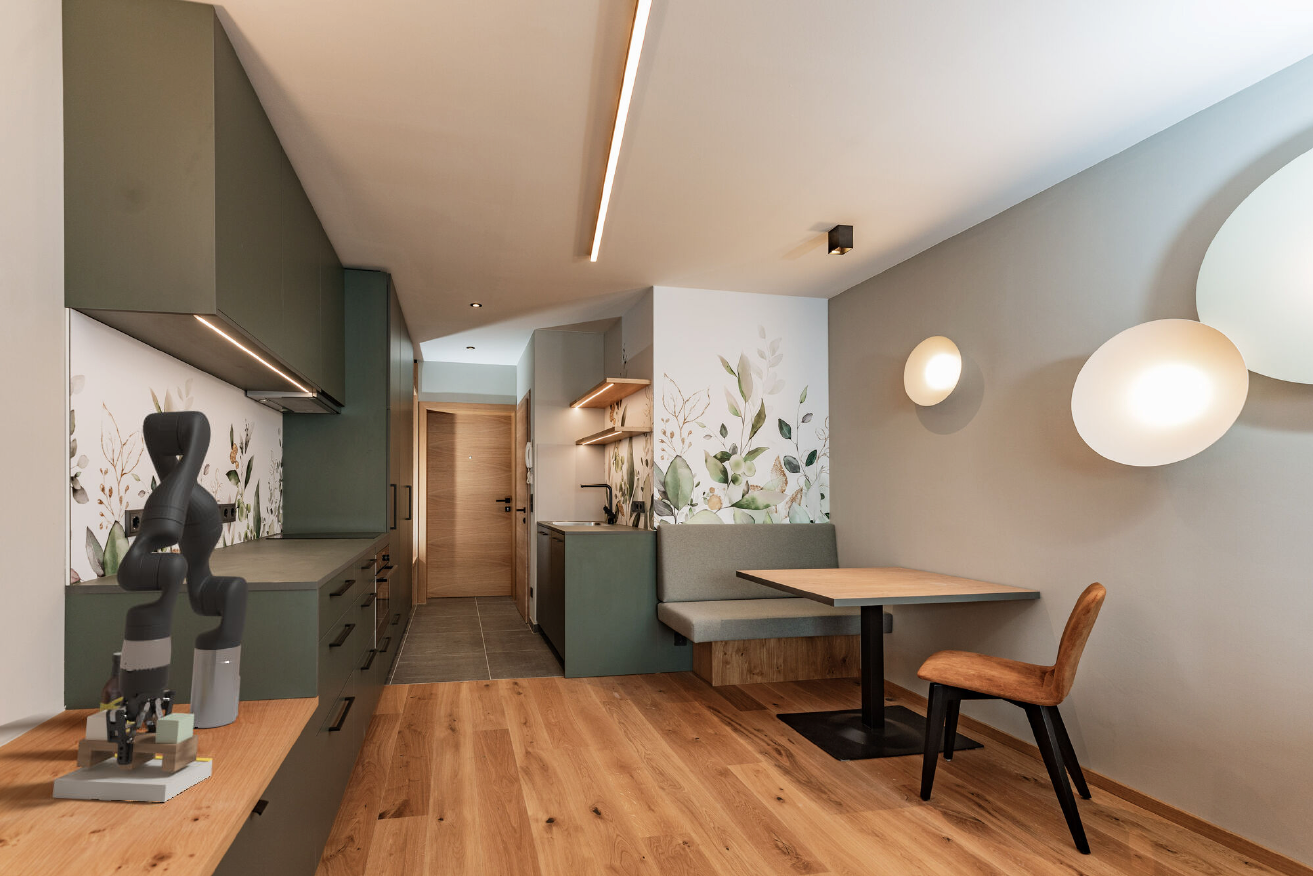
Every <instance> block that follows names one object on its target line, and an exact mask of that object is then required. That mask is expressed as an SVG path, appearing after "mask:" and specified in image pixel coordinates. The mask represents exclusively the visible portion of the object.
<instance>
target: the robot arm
mask: <svg viewBox="0 0 1313 876" xmlns="http://www.w3.org/2000/svg"><path fill="white" fill-rule="evenodd" d="M211 430H212V429H211V424H210V422H209V419H208V417H207V416H206V414H205V413H204V412H202V411H200V410H199V411H198V410H182V411H161V412H160V411H159V412H153V413H152V412H151V413H149V414H147V415H146V416H145V418H144V420H143V424H142V434H143V441H144V443H145V447H146V449H147V452H148V455H149V457H150V460H151V462H152V465H153V467H154V470H155V472H156V474H157V477H158V479H159V482H160V483H159V484H158V485H157V486H156V487H155V488H154V489H153V490H152V491H151V492H150V494H149V496H147V499H146V501H145V503H144V506H143V509H142V514H141V519H140V523H139V528H138V530H137V531H138V532H137V534H136V536H135V538H134V539H133V541H132V543H131V545H130V546H129V548H128V549H127V551H126V553H125V554H124V556H123V558H122V560H121V561H120V563H119V565H118V567H117V571H116V581H117V584H118V586H119V587H120V588H121V589H122V590H123V591H126V592H133V593H134V592H138V593H139V592H161V594H160V596H159V598H158V599H156V600H155V601H151V602H146V603H142V604H141V603H139V604H136V605H133V606H131V607H130V608H128V609H127V612H126V615H125V622H124V623H125V626H124V635H123V636H124V639H123V644H122V648H121V651H120V652H121V662H120V674H119V685H118V690H119V691H120V692H121V693H122V694H123V699H122V702H121V704H120V706H119V707H118V708H116V709H109V710H107V712H106V725H107V741H108V743H117V744H118V750H117V763H118V764H119V765H128V764H131V763H132V756H133V744H134V742H133V740H134V737H135V734H136V732H138V730H140V729H141V727H142V724H143V722H144V726H145V729H146V731H144V732H145V733H156V728H157V720H158V719H160V718H162V717H165V716H167V715H170V714H172V713H173V707H174V702H175V698H176V697H175V696H176V690H174V689H171V690H170V689H166V687H168V685H169V684H170V683H169V682H170V672H171V671H170V670H171V661H172V660H171V659H172V658H171V656H172V637H171V636H172V625H173V622H172V621H173V614H174V609H175V605H176V602H177V598H178V596H179V593H180V591H181V589H182V586H183V583H184V581H186V582H185V583H186V589H187V596H188V602H189V605H190V608H191V610H192V611H193V613H194V614H196V615H197V616H201V617H220V622H219V625H218V626H217V627H215V628H212V629H209V630H207V631H204V632H201V633H199V634H198V635H196V637H195V641H194V642H195V643H194V653H193V666H192V681H191V690H190V691H191V693H190V694H191V695H190V705H189V714H194V724H193V728H195V727H198V728H197V729H205V728H207V729H208V728H217V727H222V726H226V725H229V724H232V723H233V722H235V721H236V719H237V717H238V716H239V704H240V703H239V701H240V688H241V675H240V665H241V664H240V663H241V652H242V651H241V650H242V649H241V648H242V638H243V634H244V631H245V624H246V615H247V608H248V602H249V600H248V599H249V585H248V582H247V580H246V579H245V578H244V577H242V576H234V575H233V576H232V575H231V576H230V575H227V576H226V575H214V574H213V573H212V570H211V568H210V557H211V555H212V553H213V552H214V549H215V548H216V546H217V544H218V543H219V541H220V539H221V537H222V534H223V531H224V523H223V519H222V518H223V517H222V514H221V511H220V508H219V507H220V506H219V503H218V501H217V499H216V498H215V497H214V495H212V494H211V493H210V491H208V490H207V489H206V488H205V487H203V486H202V484H200V483H199V482H198V481H197V479H198V478H199V475H200V472H201V469H202V467H203V465H204V462H205V459H206V456H207V453H208V450H209V447H210V444H211V437H212V434H211V432H212V431H211ZM179 456H180V460H179V459H178V457H179ZM176 545H178V548H179V549H178V550H179V552H169V551H168V552H154V551H158V550H160V549H166V548H169V547H173V546H176ZM163 711H164V714H163ZM127 720H128V721H129V722H135V723H133V724H127ZM127 729H130V731H129V733H128V736H126V730H127ZM115 731H117V732H118V734H117V735H115Z"/></svg>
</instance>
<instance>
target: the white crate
mask: <svg viewBox="0 0 1313 876" xmlns="http://www.w3.org/2000/svg"><path fill="white" fill-rule="evenodd" d="M106 712H107V710H104V711H101V712H99V711H98V712H97V713H94V714H91V715H89V716H87V720H86V730H85V738H86V739H85V738H84V739H85V740H107V725H106ZM117 734H118V732H117V731H115V735H117Z"/></svg>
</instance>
